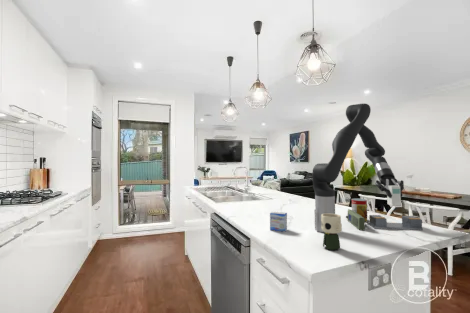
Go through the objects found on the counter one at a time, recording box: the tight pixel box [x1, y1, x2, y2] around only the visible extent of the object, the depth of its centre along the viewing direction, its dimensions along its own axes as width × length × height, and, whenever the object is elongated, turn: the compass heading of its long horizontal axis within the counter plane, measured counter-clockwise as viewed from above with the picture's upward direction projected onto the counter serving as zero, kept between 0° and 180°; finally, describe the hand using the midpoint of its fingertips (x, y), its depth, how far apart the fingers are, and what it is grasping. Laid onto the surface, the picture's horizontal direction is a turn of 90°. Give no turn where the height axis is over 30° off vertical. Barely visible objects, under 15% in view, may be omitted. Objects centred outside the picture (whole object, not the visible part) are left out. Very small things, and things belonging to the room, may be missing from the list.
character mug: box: [321, 213, 343, 251], centre depth 92 cm, size 11×7×13 cm, turn 18°
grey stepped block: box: [366, 214, 424, 231], centre depth 121 cm, size 22×9×5 cm, turn 81°
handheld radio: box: [345, 208, 366, 231], centre depth 128 cm, size 7×3×25 cm
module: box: [386, 185, 402, 207], centre depth 121 cm, size 4×5×10 cm
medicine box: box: [269, 211, 288, 232], centre depth 118 cm, size 8×4×9 cm, turn 68°
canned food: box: [351, 197, 368, 223], centre depth 136 cm, size 8×8×12 cm
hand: (395, 196), depth 119 cm, fingers closed on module, 4 cm apart
